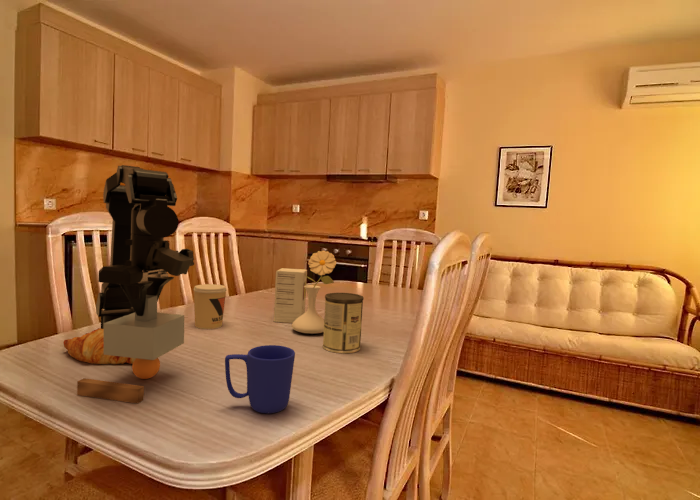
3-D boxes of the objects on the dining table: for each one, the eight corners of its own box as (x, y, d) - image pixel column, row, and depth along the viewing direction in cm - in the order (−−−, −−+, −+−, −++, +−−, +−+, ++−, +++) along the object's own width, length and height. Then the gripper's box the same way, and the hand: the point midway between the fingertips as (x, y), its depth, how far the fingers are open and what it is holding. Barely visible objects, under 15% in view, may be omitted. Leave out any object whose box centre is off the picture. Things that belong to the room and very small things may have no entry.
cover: (103, 354, 77) (103, 299, 76) (139, 338, 87) (139, 289, 86) (153, 360, 75) (153, 304, 74) (183, 343, 85) (184, 293, 84)
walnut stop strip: (77, 394, 73) (77, 381, 72) (83, 391, 74) (84, 378, 74) (138, 403, 71) (138, 389, 71) (143, 399, 72) (144, 386, 72)
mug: (228, 396, 76) (230, 343, 75) (293, 397, 77) (296, 345, 76) (217, 417, 68) (220, 358, 67) (290, 418, 69) (293, 360, 68)
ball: (130, 351, 80) (145, 352, 85) (123, 377, 79) (139, 377, 84) (153, 353, 80) (167, 354, 84) (147, 380, 78) (162, 380, 83)
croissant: (152, 376, 92) (164, 340, 95) (123, 368, 83) (137, 330, 86) (74, 361, 96) (88, 328, 100) (38, 353, 88) (55, 317, 91)
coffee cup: (214, 331, 117) (216, 290, 117) (185, 327, 119) (186, 287, 118) (230, 324, 127) (232, 285, 126) (203, 320, 128) (204, 283, 128)
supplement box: (301, 324, 132) (304, 272, 131) (272, 322, 132) (275, 270, 131) (305, 317, 141) (307, 269, 140) (278, 315, 141) (280, 267, 140)
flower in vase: (283, 332, 120) (288, 248, 119) (302, 324, 131) (306, 247, 129) (323, 340, 115) (328, 252, 114) (339, 331, 126) (344, 250, 124)
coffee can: (333, 339, 116) (335, 290, 116) (366, 346, 112) (369, 295, 111) (315, 348, 107) (318, 295, 106) (350, 356, 103) (353, 301, 102)
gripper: (155, 238, 69) (153, 329, 70) (209, 236, 87) (207, 308, 88) (96, 234, 70) (95, 323, 71) (162, 233, 89) (160, 304, 90)
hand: (145, 314), depth 80 cm, fingers closed on cover, 3 cm apart
